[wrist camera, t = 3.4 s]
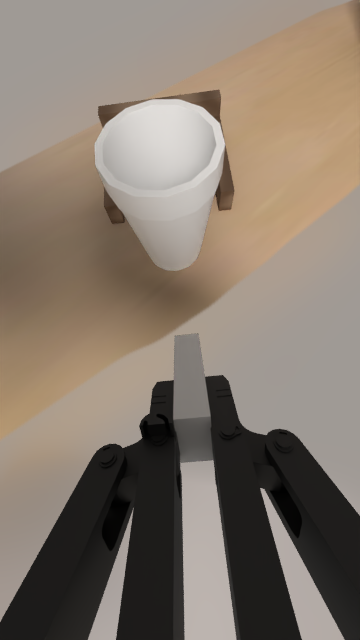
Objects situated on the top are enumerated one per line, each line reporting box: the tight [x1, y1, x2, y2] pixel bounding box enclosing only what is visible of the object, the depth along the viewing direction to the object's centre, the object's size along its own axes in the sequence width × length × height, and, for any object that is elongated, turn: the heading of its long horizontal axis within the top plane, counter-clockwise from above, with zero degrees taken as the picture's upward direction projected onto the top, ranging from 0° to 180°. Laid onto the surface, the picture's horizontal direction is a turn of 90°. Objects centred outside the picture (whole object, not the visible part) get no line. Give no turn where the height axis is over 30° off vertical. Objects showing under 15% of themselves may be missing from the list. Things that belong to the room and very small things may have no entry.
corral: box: [98, 90, 234, 224], centre depth 32 cm, size 15×14×5 cm
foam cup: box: [95, 99, 225, 271], centre depth 24 cm, size 10×9×13 cm
